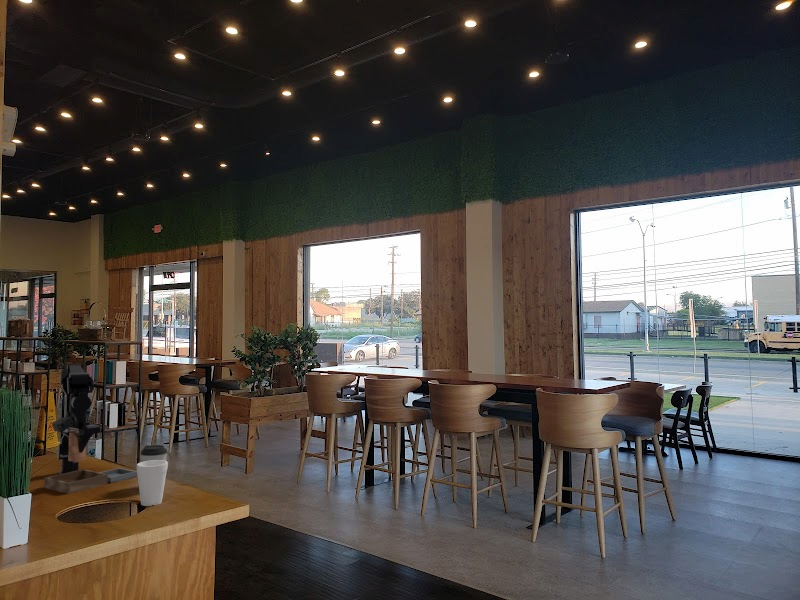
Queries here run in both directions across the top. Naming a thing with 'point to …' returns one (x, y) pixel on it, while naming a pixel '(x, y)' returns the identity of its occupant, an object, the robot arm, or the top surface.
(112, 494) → the top surface
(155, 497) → the foam cup
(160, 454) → the coffee cup
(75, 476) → the brown square tray
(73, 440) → the terracotta peg
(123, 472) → the grey rectangular bin
